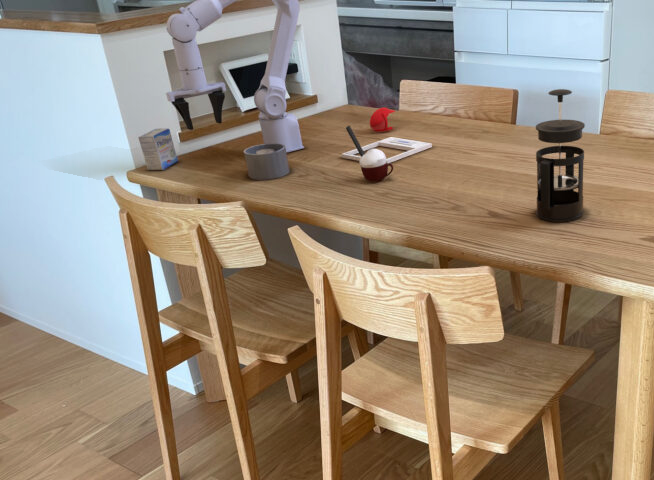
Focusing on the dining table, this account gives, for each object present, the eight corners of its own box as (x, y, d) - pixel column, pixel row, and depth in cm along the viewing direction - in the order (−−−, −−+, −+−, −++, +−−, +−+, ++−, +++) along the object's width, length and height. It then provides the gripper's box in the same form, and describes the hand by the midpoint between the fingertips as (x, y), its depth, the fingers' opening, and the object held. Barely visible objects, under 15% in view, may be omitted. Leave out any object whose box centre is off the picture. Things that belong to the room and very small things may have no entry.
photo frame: (431, 142, 194) (382, 160, 183) (431, 147, 195) (382, 165, 183) (391, 136, 202) (341, 153, 191) (391, 140, 203) (342, 157, 192)
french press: (550, 202, 153) (550, 82, 141) (593, 208, 149) (596, 85, 137) (523, 221, 145) (520, 96, 133) (567, 228, 141) (568, 99, 128)
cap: (382, 135, 209) (379, 112, 206) (366, 132, 212) (363, 110, 209) (401, 128, 214) (398, 106, 211) (385, 126, 217) (382, 104, 214)
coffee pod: (267, 168, 186) (263, 148, 184) (281, 169, 185) (277, 149, 182) (256, 173, 183) (251, 153, 180) (270, 174, 181) (266, 154, 179)
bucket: (277, 165, 190) (272, 141, 187) (297, 172, 183) (292, 147, 180) (242, 174, 185) (236, 150, 182) (260, 182, 178) (255, 157, 175)
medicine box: (163, 170, 193) (153, 136, 188) (147, 170, 193) (137, 136, 189) (178, 161, 199) (169, 127, 194) (163, 161, 200) (154, 128, 195)
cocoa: (398, 178, 174) (392, 125, 168) (379, 186, 170) (372, 131, 164) (370, 172, 179) (363, 120, 173) (350, 179, 175) (342, 127, 169)
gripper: (168, 75, 177) (183, 134, 184) (225, 65, 184) (238, 122, 192) (157, 72, 181) (172, 130, 189) (213, 62, 189) (226, 118, 196)
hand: (204, 126), depth 190 cm, fingers open, 7 cm apart
